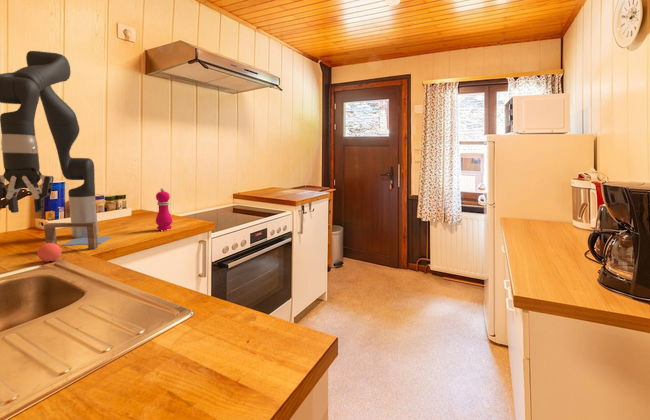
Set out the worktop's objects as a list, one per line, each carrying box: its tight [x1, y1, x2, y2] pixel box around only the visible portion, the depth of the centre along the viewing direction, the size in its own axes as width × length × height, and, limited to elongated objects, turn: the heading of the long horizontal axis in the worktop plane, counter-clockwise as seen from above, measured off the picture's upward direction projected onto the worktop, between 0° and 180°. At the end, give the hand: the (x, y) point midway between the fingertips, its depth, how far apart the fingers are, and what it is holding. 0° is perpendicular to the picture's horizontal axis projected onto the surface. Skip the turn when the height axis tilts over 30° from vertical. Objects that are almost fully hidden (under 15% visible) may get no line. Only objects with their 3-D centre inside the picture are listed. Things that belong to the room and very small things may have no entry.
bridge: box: [43, 222, 99, 251], centre depth 124 cm, size 3×15×10 cm, turn 105°
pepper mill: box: [155, 187, 173, 231], centre depth 161 cm, size 7×7×20 cm
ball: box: [37, 242, 63, 263], centre depth 109 cm, size 6×6×6 cm
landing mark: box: [62, 236, 112, 246], centre depth 138 cm, size 13×13×1 cm
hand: (26, 211), depth 97 cm, fingers open, 5 cm apart
